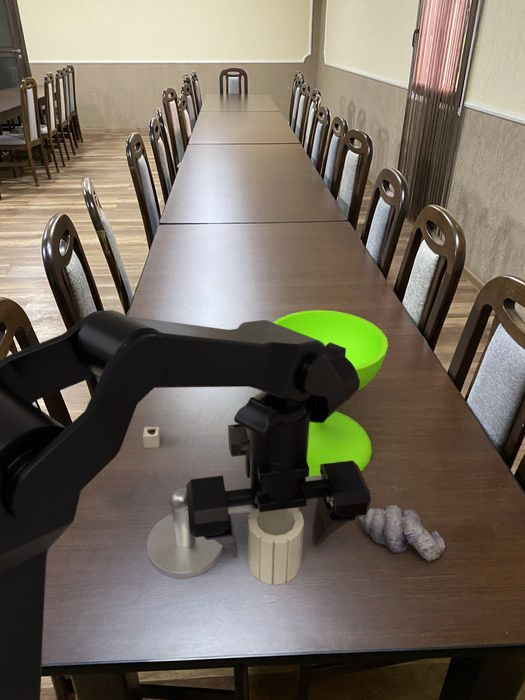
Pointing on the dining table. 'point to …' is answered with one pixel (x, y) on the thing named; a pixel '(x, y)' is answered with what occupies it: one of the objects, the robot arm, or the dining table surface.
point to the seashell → (402, 531)
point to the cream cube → (151, 437)
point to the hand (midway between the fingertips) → (275, 548)
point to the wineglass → (367, 357)
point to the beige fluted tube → (275, 544)
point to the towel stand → (180, 543)
